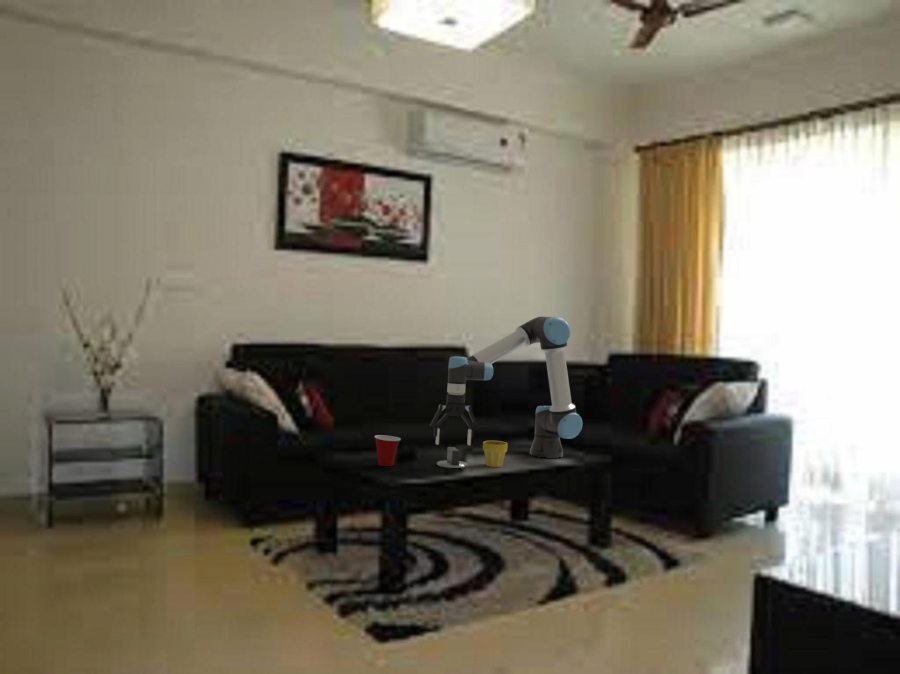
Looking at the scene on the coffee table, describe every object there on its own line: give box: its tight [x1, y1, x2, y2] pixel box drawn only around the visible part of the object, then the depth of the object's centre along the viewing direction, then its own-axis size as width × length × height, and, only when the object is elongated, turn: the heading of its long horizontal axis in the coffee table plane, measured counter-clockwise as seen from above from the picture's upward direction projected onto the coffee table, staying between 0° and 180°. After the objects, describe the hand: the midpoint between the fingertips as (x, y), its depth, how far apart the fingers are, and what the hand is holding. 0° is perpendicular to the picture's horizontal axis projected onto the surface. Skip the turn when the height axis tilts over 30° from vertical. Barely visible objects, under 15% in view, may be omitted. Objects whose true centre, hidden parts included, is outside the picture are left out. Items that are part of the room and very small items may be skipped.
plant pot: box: [482, 440, 509, 468], centre depth 338 cm, size 10×10×10 cm
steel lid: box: [436, 446, 469, 469], centre depth 334 cm, size 13×13×7 cm
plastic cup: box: [374, 434, 402, 467], centre depth 326 cm, size 11×11×12 cm
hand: (453, 444), depth 334 cm, fingers open, 13 cm apart
